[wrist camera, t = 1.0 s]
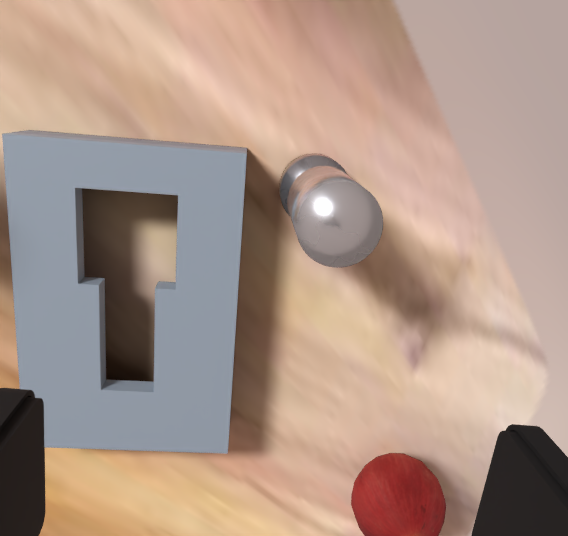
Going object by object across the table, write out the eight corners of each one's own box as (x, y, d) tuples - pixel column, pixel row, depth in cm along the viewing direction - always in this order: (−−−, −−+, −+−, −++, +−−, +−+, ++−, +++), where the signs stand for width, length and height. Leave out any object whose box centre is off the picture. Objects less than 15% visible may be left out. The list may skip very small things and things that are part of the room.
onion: (440, 466, 38) (488, 559, 30) (376, 512, 39) (406, 612, 31) (392, 413, 36) (430, 497, 29) (326, 461, 37) (346, 555, 29)
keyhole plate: (29, 130, 29) (2, 133, 26) (247, 147, 30) (246, 153, 27) (44, 414, 35) (23, 446, 31) (229, 421, 36) (227, 453, 32)
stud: (281, 150, 31) (295, 173, 21) (350, 156, 31) (394, 180, 21) (276, 218, 32) (287, 268, 22) (342, 223, 32) (380, 274, 23)
